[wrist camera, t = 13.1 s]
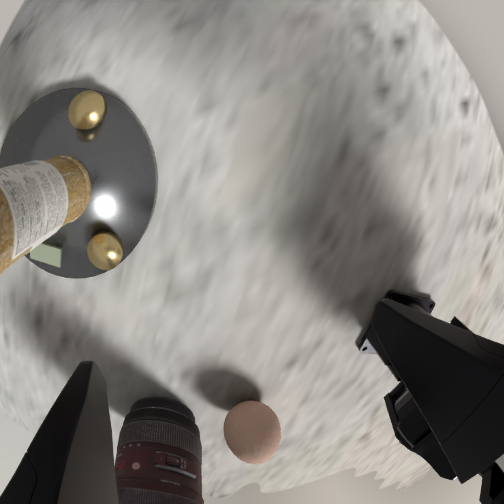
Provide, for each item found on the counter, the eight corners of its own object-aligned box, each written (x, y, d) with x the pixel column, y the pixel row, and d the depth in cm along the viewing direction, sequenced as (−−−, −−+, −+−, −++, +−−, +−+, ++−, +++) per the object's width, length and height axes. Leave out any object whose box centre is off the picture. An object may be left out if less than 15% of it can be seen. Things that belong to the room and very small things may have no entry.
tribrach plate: (182, 106, 16) (178, 102, 14) (139, 291, 20) (134, 304, 18) (20, 85, 13) (7, 83, 11) (1, 249, 17) (-11, 257, 16)
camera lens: (110, 394, 24) (81, 529, 10) (186, 387, 24) (186, 543, 10) (143, 437, 27) (134, 551, 13) (210, 432, 27) (220, 555, 13)
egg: (235, 424, 27) (242, 478, 21) (212, 399, 25) (215, 458, 19) (280, 409, 27) (295, 463, 21) (262, 381, 25) (276, 441, 19)
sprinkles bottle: (36, 216, 16) (-104, 318, 4) (41, 150, 15) (-128, 198, 2) (91, 227, 17) (-44, 363, 5) (98, 156, 15) (-82, 213, 3)
